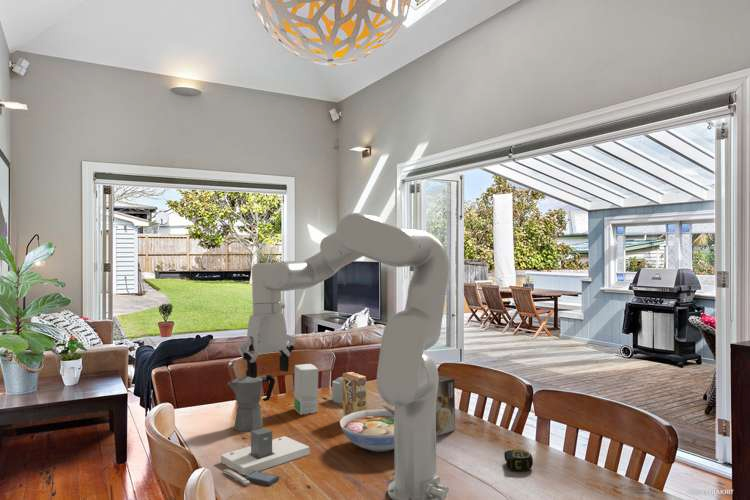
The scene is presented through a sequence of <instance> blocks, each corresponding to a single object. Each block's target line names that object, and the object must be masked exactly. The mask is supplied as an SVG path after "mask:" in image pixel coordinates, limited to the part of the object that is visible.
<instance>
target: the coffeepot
mask: <svg viewBox="0 0 750 500" xmlns="http://www.w3.org/2000/svg"><path fill="white" fill-rule="evenodd" d="M245 374H246V375H244V376H240V377H237V378H234V379H233V380H230V381H229V382H227V385H228V386H229V387H230V388H231V390H232V392H233V393H234V395H235V401H236V403H237V408H236V414H235V419H234V420H235V421H234V428H233V429H234V430H236V431H238V430H240V431H239V432H251V431H253V430H257V429H261V428H263V427H264V426H263V424H264V423H263V416H262V411H261V405H260V400H261V393H262V385H263V384H262V383H265V382H269V384H268V389H267V390H266V397H264V398H262V400H263V401H264V402H267V401H270V399H271V396H272V393H273V390H274V387H275V383H276V379H275V378H274V377H273V375H271V374H266V375H260V376H257V377H256V378H251V377H249V376H248V373H247V370H245Z"/></svg>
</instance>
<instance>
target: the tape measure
mask: <svg viewBox="0 0 750 500" xmlns="http://www.w3.org/2000/svg"><path fill="white" fill-rule="evenodd" d="M503 456H504V460H505V467H506V468H507V469H508V470H509V471H514V470H516V471H521V472H522V471H529V470H531V469H532V467H533V465H534V458H533V455H532V453H530V451H527V450H524V449H511V450H507V451H506V450H505V452H504V455H503Z"/></svg>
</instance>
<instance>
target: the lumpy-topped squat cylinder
mask: <svg viewBox="0 0 750 500" xmlns="http://www.w3.org/2000/svg"><path fill="white" fill-rule="evenodd" d="M331 384H332V386H331V387H332V390H331V391H332V393H331V394H332V397H331V398H332V399H331V400H333V401H334V402H333V401H332V402H333V403H336V402H337V403H336V404H340V403H341V405H343V376H340V377H337V378H336V379H335V380H332V382H331ZM367 387H368V383H367V381H366V403H367V402H368V388H367ZM367 404H368V403H367Z"/></svg>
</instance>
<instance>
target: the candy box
mask: <svg viewBox="0 0 750 500" xmlns="http://www.w3.org/2000/svg"><path fill="white" fill-rule="evenodd" d="M342 377H343V404H342V406H343V407H342V409H343V412H342V413H343V417H344V416H346V415H349V414H351V413H354V412H359V411H364V410H368V409H367V404H368V403H366V382H367V376H365V375H362V374H359V373H357V372H353V371H351V372H350V371H349V372H343V373H342Z"/></svg>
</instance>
